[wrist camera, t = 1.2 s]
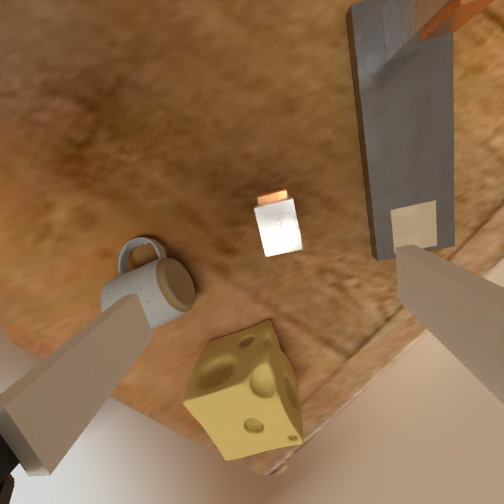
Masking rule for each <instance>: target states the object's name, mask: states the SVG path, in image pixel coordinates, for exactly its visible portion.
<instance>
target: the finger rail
mask: <svg viewBox="0 0 504 504" xmlns="http://www.w3.org/2000/svg"><path fill="white" fill-rule="evenodd" d="M493 1H494V0H364V1H361V2H358V3H356V4H353V5H351V6H350V8H349V11H348V13H347V15H346V21H347V30H348V39H349V48H350V57H351V66H352V76H353V85H354V94H355V103H356V112H357V121H358V130H359V139H360V148H361V157H362V166H363V175H364V184H365V193H366V202H367V211H368V220H369V229H370V238H371V247H372V256H373V257H374V258H375V259H376V260H377V261H380V260H385V259H390V258H395V257H396V249H395V247H400V246H406V245H412V244H414V245H416V246H418V247H420V248H422V249H424V250H426V251H431V250H436V249H441V248H447V247H452V246H454V118H453V32H454V31H456V30H457V29H459V28H460V27H461V26H463V25H464V24H465V23H466V22H468V21H469V20H470V19H471V18H473V17H474V16H475V15H476V14H478V13H479V12H480V11H481V10H483V9H484V8H485V7H487V6H488V5H489V4H490V3H492V2H493Z"/></svg>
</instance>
